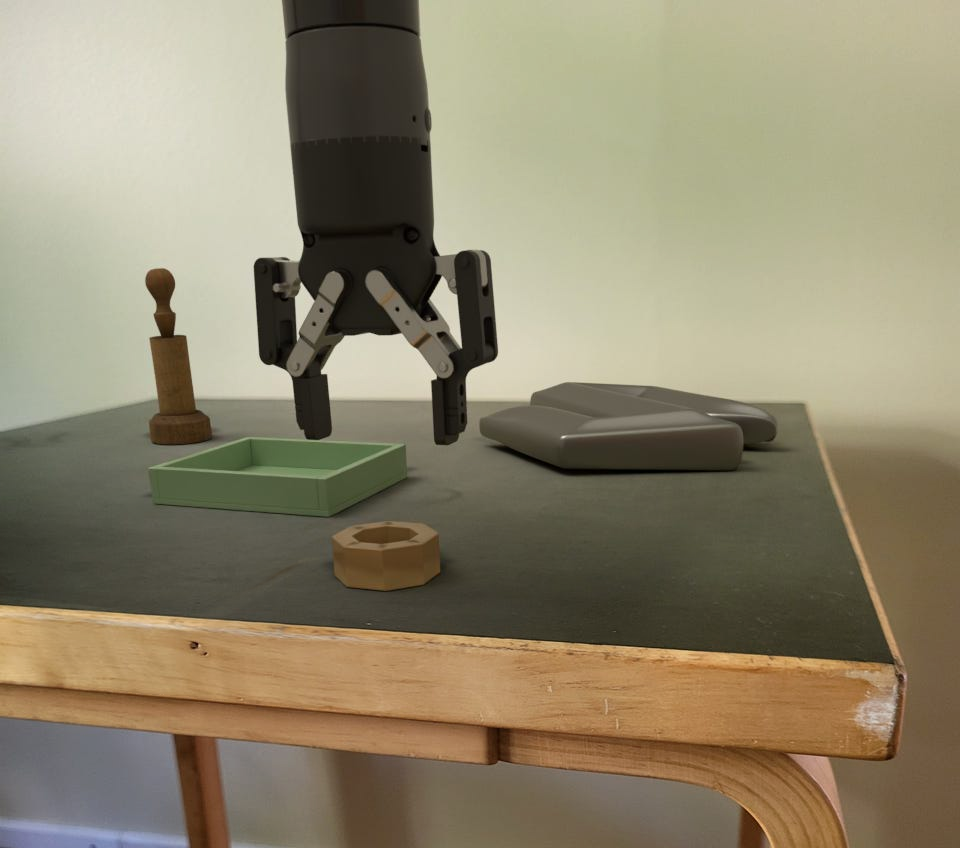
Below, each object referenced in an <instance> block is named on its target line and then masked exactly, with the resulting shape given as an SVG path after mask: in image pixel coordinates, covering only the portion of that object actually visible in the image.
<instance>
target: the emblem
mask: <svg viewBox="0 0 960 848" xmlns="http://www.w3.org/2000/svg"><path fill="white" fill-rule="evenodd" d="M478 424H479V433H480V435H481V436H483V437H485V438H487V439H488V440H493V441H494V442H495V441H496V442H498V443H500V444H502V445H504V446H506V447H508V448H510V449H512V450H514V451H516V452H518V453H521V454H524V455H527V456H529V457H531V458H534V459H537V460H540V461H542V462H545V463H547V464H550V465H553V466H556V467H558V468H562V469H567V470H628V471H629V470H635V471H636V470H639V471H640V470H643V471H724V472H725V471H734V470H736V469H738V467H739V466H740V464H741V461H742V459H743V455H744V453H743V452H744V445H747V444H749V445H750V444H758V443H759V444H760V443H763V442H764V443H770V442H773V441H774V440H775V439H776V437H777V434H778V427H779V426H778V421H777V418H776V416H774V414H772V413H770V412H768V411H766V410H764V409H762V408H761V407H758V406H756V405H753V404H750V403H746V402H743V401H739V400H735V399H730V398H726V397H725V398H724V397H718V396H712V395H708V394H701V393H695V392H690V391H685V390H684V391H683V390H678V389H673V388H668V387H663V386H655V385H641V384H639V385H638V384H618V383H600V382H599V383H595V382H577V381H565V382H562V383H559V384H556V385H552V386H550V387H547V388H544V389H541V390H538V391H534V392H533V393H531V395H530V399H529V405H517V406H512V407H508V408H505V409H501V410H498V411H494V412H492V413H490V414H487V415H484V416H482V417H481V418H479V423H478Z"/></svg>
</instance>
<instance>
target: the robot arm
mask: <svg viewBox="0 0 960 848" xmlns="http://www.w3.org/2000/svg"><path fill="white" fill-rule="evenodd" d="M281 7H282V18H283V27H284V29H283V30H284V39H285V43H284V44H285V74H284V75H285V76H284V81H285V82H284V85H285V86H284V90H285V103H286V105H285V106H286V114H287V116H286V117H287V124H288V125H287V126H288V136H289V147H290V156H291V157H290V158H291V169H292V178H293V188H294V198H295V199H294V200H295V210H296V221H297V227H298V230H299V232H300V235H301V239H302V252H301V256H300V259H299V260H291V259H290V258H289V257H286V256H277V257H274V256H273V257H258V258H257V259H255V260H254V263H253V281H254V294H255V295H254V297H255V311H256V327H257V329H256V330H257V342H258V343H257V345H258V357H259V359H260V361H261V362H262V363H263V364H264V365H266V366H275V367H277V368H280V369H282V370H284V371H286V372H287V373H288V374H289V376H290V378H291V381H292V392H293V400H294V409H295V420H296V424H297V426H298V428H299V430H300V431H303V433H304V437H305V440H324V439H326V438H329V437H330V436H331V435H332V432H333V423H332V413H331V411H332V410H331V401H330V389H329V381H328V379H329V378H328V373H322V370H323V369H324V367H325V365H326V364H327V362H328V360H329V358H330V356H331V355H332V354H333V351H334V350H335V348H336V347H337V346H338V345H339V344H340V343H341V342H342V341H343V339H344V338H345V337H349V336H350V337H352V336H353V337H354V336H361V335H365V334H372V335H376V336H395V335H399V334H402V336H403V337H404V338H405V340H406V341H407V342H408V344H409V345H410V346H412V347H413V348H414V349H416V350H417V351H418V352H419V353H420V355H421V356H422V357H423V359H424V360H425V361H426V363H427V364H428V365H429V367H430V368H431V370H432V371H433V372H434V374H435V375H436V378H434V379H431V380H430V388H431V389H430V390H431V406H432V407H431V410H432V428H433V441H434V444H435V445H436V446H451V445H453V444H454V443H457V442H458V441H459V438H460V434H462V433H464V432H465V431H466V428H467V425H468V413H467V412H468V406H467V405H468V403H467V400H468V399H467V377H468V374H469V372H471V371H472V370H473V369H475V368H478V367H480V366H484V365H486V364H490V363H492V362H494V361H495V360H496V359H497V358H498V355H499V344H498V332H497V331H498V330H497V320H496V307H495V296H494V295H495V294H494V283H493V272H492V271H493V270H492V259H491V256H490V254H489V253H488V252H487V251H485V250H483V249H467V250H461V251H458V253H455V254H445V255H440V253H439V251H438V249H437V247H436V242H435V239H434V229H435V211H434V210H435V208H434V188H433V170H432V168H433V167H432V147H431V145H432V143H431V131H432V126H433V125H432V113H431V110H430V107H429V105H430V104H429V89H428V81H427V80H428V79H427V74H426V68H425V64H424V63H425V62H424V57H423V56H424V55H423V49H422V39H421V38H420V37H421V36H422V35H421V17H420V0H281ZM442 277H443V278H444V280H445V281H446V283H447V288H448V290H449V291H450V292H451V293H452V294H454V295H456V298H457V309H458V318H459V319H458V321H459V333H460V341H461V342H460V343H461V345H460V344H459V343H458V342H457V340H456V339H455V337H454V336H453V334H452V333H451V328H450V325H449V324H448V322H447V321H446V320H445V318H444V317H443V315H442V314H441V312H440V311H439V310H438V308H437V307H436V305H435V304H434V302H433V301H432V300H431V297H432V295H433V293H434V292H435V290H436V288H437V287H438V285H439V283H440V281H441V280H442ZM301 284H302V286H303V287H304V288H305V290H306V292H308V294H309V296H310V297H311V298H312V299H313V303H312V305H311V307H310V309H309V311H308V313H307V315H306V317H305V318H304V320H303V323H302V324H301V326H300V328H299V330H297V311H296V297H297V296H298V295H299V293H300V291H301ZM297 331H298V333H297ZM298 336H299V337H298Z"/></svg>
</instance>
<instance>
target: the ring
mask: <svg viewBox="0 0 960 848" xmlns="http://www.w3.org/2000/svg"><path fill="white" fill-rule="evenodd" d="M331 545H332V557H333V569H334V576H335V577H336V578H337V579H338V580H339V581H340V582H341V583H342V584H343V585H344V586H345V587H346V588H352V589H360V590H361V589H362V590H370V591H371V590H373V591H381V592H382V591H383V592H388V591H393V590H394V591H395V590H401V589H408V588H414V587H417V586H418V587H419V586H424V585H425V584H426V583H428V582H429V581H431V580H432V579H433V578H435V577H436V576H437V575H438V574H440V573H441V555H440V553H441V552H440V534H439V532H438V531H436V530H434V529H433V528H431V527H430V526H428V525H427V524H425V523H420V522H409V521H397V520H396V521H394V520H384V521H378V522H370V523H363V524H356V525H350V526H348V527H346V528H344V529H343V530H341V531H339V532H338V533H335V534H334V535H332V536H331Z"/></svg>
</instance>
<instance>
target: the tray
mask: <svg viewBox="0 0 960 848" xmlns="http://www.w3.org/2000/svg"><path fill="white" fill-rule="evenodd" d="M407 461H408V460H407V445H406V444H405V443H385V442H366V441H365V442H363V441H343V440H342V441H341V440H325V439H321V440H307V439H303V438H302V439H300V438H277V437H259V436H258V437H256V436H255V437H254V436H246V437H243V438H240V439H237V440H233V441H230V442H227V443H223V444H219V445H218V446H214V447H211V448H208V449H205V450H201V451H198V452H195V453H192V454H188V455H186V456H183V457H179V458H176V459H173V460H169V461H166V462H163V463H160V464H157V465H153V466H149V467H148V468H147V472H148V478H149V485H150V492H151V498H152V503H153V505H164V506H165V505H168V506H179V507H190V508H191V507H193V508H207V509H219V510H231V511H232V510H233V511H245V512H256V513H257V512H258V513H271V514H283V515H284V514H285V515H297V516H298V515H299V516H310V517H323V518H329V517H331V516H334V515H335V514H338V513H340V512H342V511H344V510H345V509H347V508H349V507H351V506H354V505H356V504H357V503H359V502H362V501H364V500H365V499H368V498H370V497H372V496H373V495H375V494H377V493H379V492H382V491H383V490H385V489H387V488H389V487H392V486H393V485H395V484H397V483H399V482H401V481H403V480H405V479H407V478H408V463H407Z"/></svg>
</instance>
